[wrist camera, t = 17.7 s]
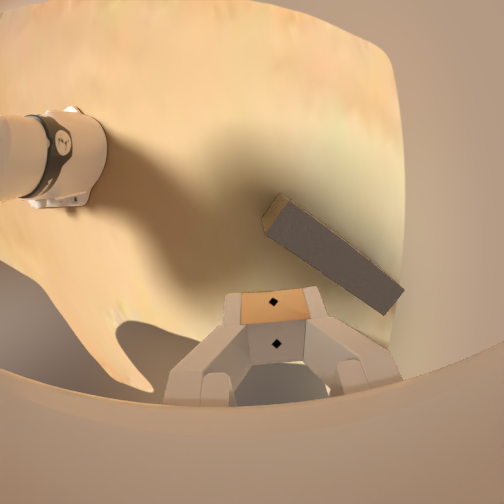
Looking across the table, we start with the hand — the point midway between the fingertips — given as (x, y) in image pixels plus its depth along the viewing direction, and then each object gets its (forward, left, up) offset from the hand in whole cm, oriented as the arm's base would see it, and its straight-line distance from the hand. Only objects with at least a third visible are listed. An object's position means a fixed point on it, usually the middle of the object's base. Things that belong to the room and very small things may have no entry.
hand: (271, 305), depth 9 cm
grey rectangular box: (+10, -9, -34) cm, 36 cm away
